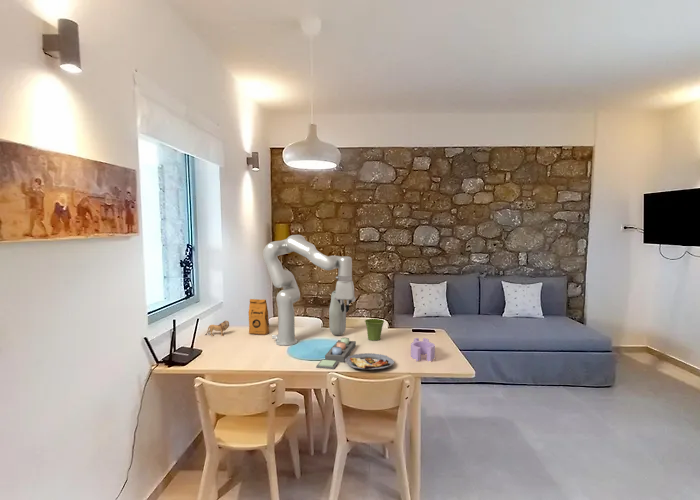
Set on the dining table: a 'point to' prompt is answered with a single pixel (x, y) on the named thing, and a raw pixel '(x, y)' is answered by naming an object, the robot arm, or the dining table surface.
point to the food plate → (369, 361)
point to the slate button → (337, 351)
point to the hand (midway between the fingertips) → (345, 311)
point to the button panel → (344, 352)
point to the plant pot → (374, 328)
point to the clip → (422, 349)
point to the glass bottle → (337, 316)
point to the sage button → (345, 340)
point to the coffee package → (258, 317)
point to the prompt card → (327, 364)
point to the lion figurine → (218, 328)
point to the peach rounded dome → (342, 345)
